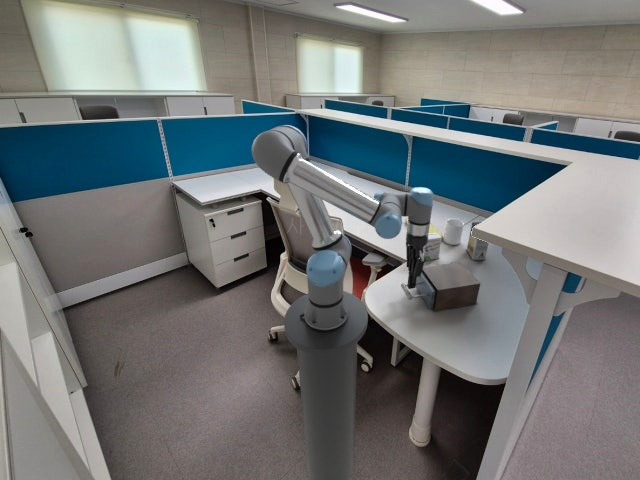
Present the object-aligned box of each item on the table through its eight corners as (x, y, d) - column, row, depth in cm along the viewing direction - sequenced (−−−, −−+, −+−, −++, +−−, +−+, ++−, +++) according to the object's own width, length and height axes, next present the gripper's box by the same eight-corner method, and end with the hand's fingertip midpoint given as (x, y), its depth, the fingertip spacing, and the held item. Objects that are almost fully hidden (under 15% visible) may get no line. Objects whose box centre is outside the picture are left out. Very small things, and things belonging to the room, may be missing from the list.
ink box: (423, 261, 141) (425, 239, 137) (418, 255, 146) (420, 234, 141) (438, 258, 144) (442, 237, 139) (433, 253, 148) (436, 232, 143)
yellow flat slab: (405, 222, 179) (421, 242, 158) (405, 219, 178) (422, 238, 157) (424, 220, 182) (442, 240, 161) (424, 217, 181) (443, 236, 160)
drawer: (410, 312, 109) (412, 295, 106) (397, 288, 121) (399, 272, 118) (469, 301, 115) (472, 285, 112) (451, 280, 127) (454, 265, 124)
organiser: (434, 311, 111) (437, 290, 107) (418, 286, 124) (421, 267, 120) (475, 303, 116) (480, 283, 112) (456, 280, 129) (460, 261, 125)
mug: (463, 245, 157) (466, 226, 152) (447, 246, 155) (450, 227, 150) (453, 234, 167) (456, 216, 163) (438, 235, 166) (441, 217, 161)
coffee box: (465, 250, 152) (471, 221, 146) (478, 250, 153) (484, 221, 146) (472, 260, 144) (479, 230, 137) (485, 260, 145) (492, 230, 138)
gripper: (436, 240, 99) (427, 297, 109) (419, 222, 110) (413, 275, 120) (415, 242, 97) (408, 300, 107) (400, 224, 108) (396, 278, 118)
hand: (411, 287), depth 113 cm, fingers closed
